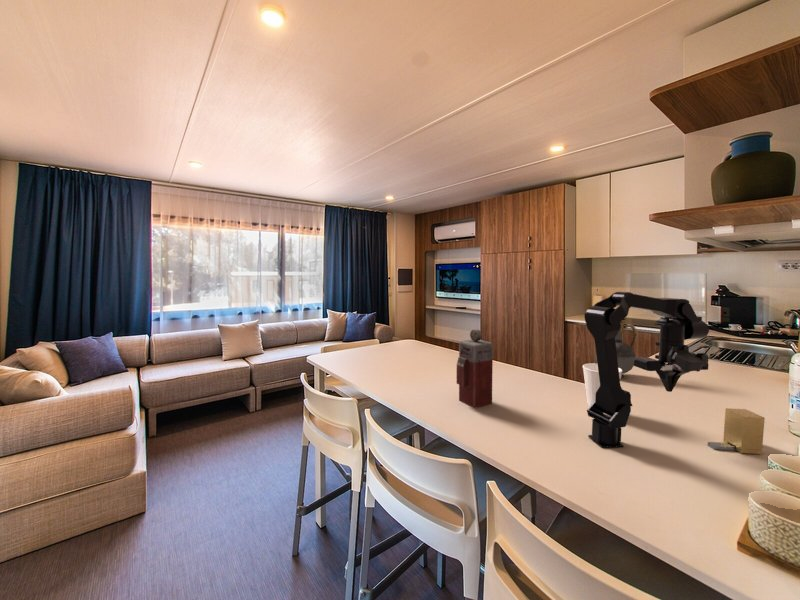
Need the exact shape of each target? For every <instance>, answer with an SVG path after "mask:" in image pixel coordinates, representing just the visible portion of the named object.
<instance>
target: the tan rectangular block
mask: <svg viewBox="0 0 800 600" xmlns="http://www.w3.org/2000/svg"><path fill="white" fill-rule="evenodd" d="M765 420H766V419H765V417H764V416H762V415H760V414H757V413H755V412H754V411H751V410H748V409H746V408H727V407H725V412H724V426H723V439H722V440H723V441H722V443H731V444H733V445H735V446H736V450H737V451H736V452H738V453H740V454H756V455H762V454H763V445H764V444H763V443H764V431H765Z"/></svg>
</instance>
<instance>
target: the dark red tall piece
mask: <svg viewBox="0 0 800 600" xmlns="http://www.w3.org/2000/svg"><path fill="white" fill-rule="evenodd" d="M469 336H470V339H466V340H461V341H459V344H458V346H459V347H458V352H459V353H458V354H459V355H458V359H457V362H456V384H457V385H458V401H459V402H461V403H463V404H464V405H466V406H468V407H471V408H472V409H477V408H480V407H484V406H488V405H493V367H494V365H493V360H494V359H493V358H494V357H493V356H494V349H493V348H494V345H493V342H491V341H487V340H482V338H483V337H482V336H483V335H482V331H481V330H480V329H478V328H475V329H471V330H470V333H469Z"/></svg>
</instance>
